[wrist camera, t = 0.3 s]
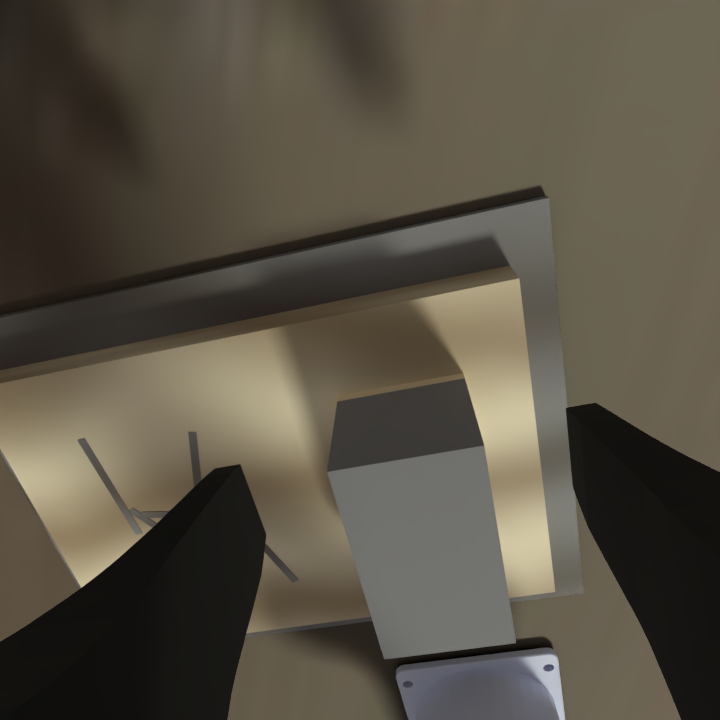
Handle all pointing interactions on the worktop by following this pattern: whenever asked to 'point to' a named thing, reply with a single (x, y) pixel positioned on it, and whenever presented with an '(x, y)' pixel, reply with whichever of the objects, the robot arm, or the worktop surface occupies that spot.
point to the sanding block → (421, 517)
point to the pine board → (296, 399)
